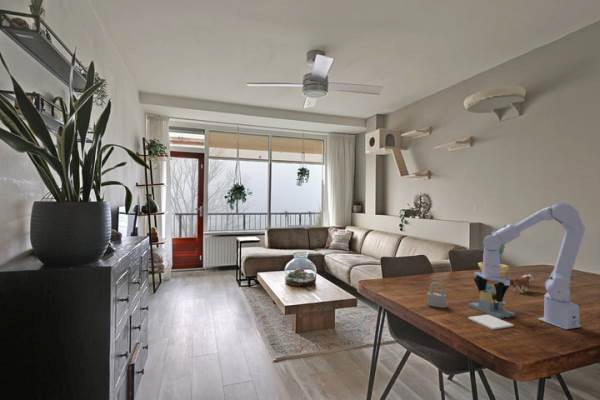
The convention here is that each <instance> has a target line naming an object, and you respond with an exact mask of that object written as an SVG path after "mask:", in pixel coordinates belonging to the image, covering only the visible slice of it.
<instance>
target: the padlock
mask: <svg viewBox="0 0 600 400" xmlns="http://www.w3.org/2000/svg"><path fill="white" fill-rule="evenodd" d="M434 286H439V287H440V293H439V292H438V293H437V292H433V291H434ZM426 302H427V304H426V305H427V306H430V307H435V308H440V309H441V308H442V309H446V308H447V295H446V294H445V287H444V285H443V284H442V283H441V282H437V281H434V282H432V283H430V286H429V292H427V301H426Z"/></svg>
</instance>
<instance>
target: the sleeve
mask: <svg viewBox="0 0 600 400" xmlns="http://www.w3.org/2000/svg"><path fill="white" fill-rule="evenodd" d="M479 299H481V300H484V301H486V302H489V303H499V302H497V300H496V290H495V291H494V293H493V294H491V293H488V292H487V290H483V291H482V290H480V294H479Z"/></svg>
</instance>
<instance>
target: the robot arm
mask: <svg viewBox="0 0 600 400" xmlns="http://www.w3.org/2000/svg"><path fill="white" fill-rule="evenodd" d="M553 220H555V221H556V222H558V223H559V224H560V225H561V227H562V228H563V229H564V230H565V231H564V235H563V238H562V241H561V245H560V247H559V251H558V255H557V258H556V261H555V263H554V267H553V270H552V271H551V273H550V276H549V278H548V279H546V280H545V282H544V288H545V290H546V291H547V292H546V293H545V294H543V296H544V297H543V298H544V300H543V301H544V302H543V308H544V309H543V317H538V318H537V320H538V321H542V322H544V323H547V324H549V325H553V326H556V327H558V328H561V329H564V330H570V329H571V330H572V329H576V328H582V327H581V324H580V306H579V304H577V303H575V302H572V301H571V299H570V298H571V294H572V292H571V289H570V286H571V274H572V272H573V269H574V266H575V265H574V264H575V263H576V259H577V257H578V256H577V255H578V253H579V249H580V247H581V244H582V241H583V237H584V234H585V229H586V228H585V226H584V223H583V221H582V219H581V217H580V214H579V211H578V210H577V209H576V208H575V207H573V205H571V204H570V203H569V204H568V203H566V202H561V203H559V202H556V203H553V204H551V205H550V206H547V207H544V208H542V209H540V210H538V211H535V212H534V213H532V214H531V215H529V216H527V217H526V218H525V219H523V220H520V221H519V222H517V223H515V224H511V223H508V224H504V225H502V227H501V228H500V229H498V230H495V231H491V235H490V234H489V235H487V236H485V237H484V239H483V241H482V243H483V247H484V248H483V255H482V262H483V273H482V271H473V277H475V278H473V281H474V282H475V285H476V287H477V289H478V294H479V295H480V290H482V291H483V290H486V284H487V283H488V281H491V282H493V283H494V284H493V285H494V289H495V291H496V300H497V302H503V300H504V297H505V294H506V292H507V291H508V289H509V288H510V286H511V280H510V279H507V278H505V277H500V264H501V258H500V254H499V248H500V246H501V245H502V244H503V245H504V244H505V245H506V244H508V243H510V242H512V241H514V240H515V239H517V238H519V237H521V232H523V231H525V230H526V229H529V228H530V227H532V226H535V225H537V224H539V223H541V222H543V221H544V222H545V221H553ZM487 285H488V284H487Z"/></svg>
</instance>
